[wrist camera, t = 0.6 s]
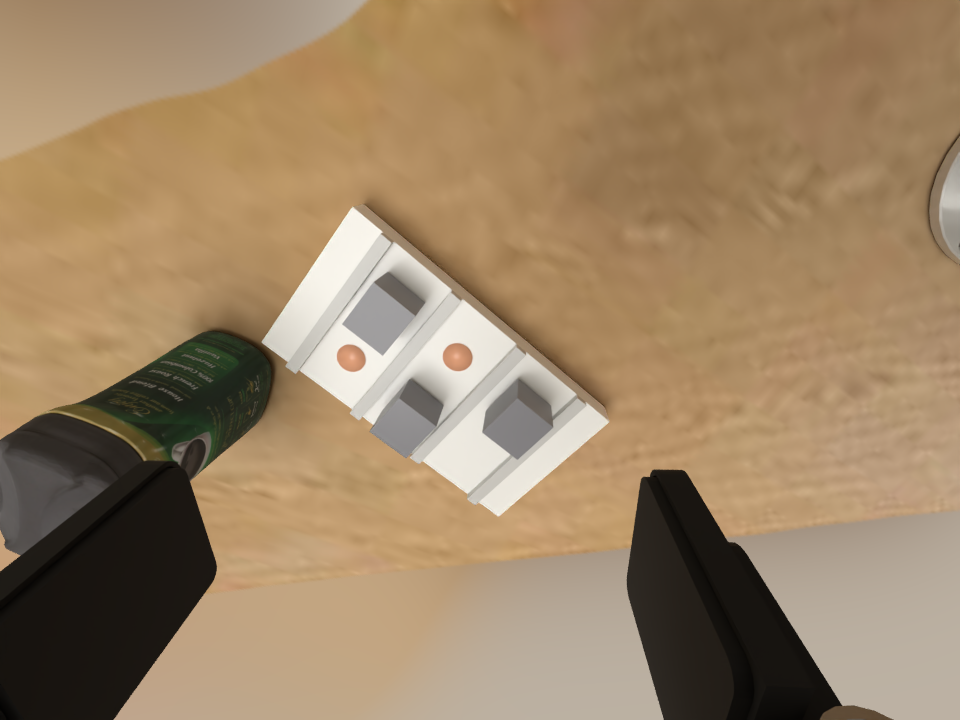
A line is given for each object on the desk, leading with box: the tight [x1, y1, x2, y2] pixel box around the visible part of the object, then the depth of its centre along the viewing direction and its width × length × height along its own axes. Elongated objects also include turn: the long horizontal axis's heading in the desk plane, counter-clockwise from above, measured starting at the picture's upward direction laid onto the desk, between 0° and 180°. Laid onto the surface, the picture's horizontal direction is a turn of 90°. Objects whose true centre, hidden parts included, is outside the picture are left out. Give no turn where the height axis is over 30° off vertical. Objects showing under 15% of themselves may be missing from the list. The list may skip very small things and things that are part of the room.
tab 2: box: [370, 379, 444, 458], centre depth 36 cm, size 4×4×3 cm
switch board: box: [261, 204, 609, 517], centre depth 38 cm, size 14×26×3 cm, turn 50°
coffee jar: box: [0, 331, 271, 555], centre depth 33 cm, size 10×8×19 cm
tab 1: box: [342, 272, 425, 356], centre depth 33 cm, size 4×4×3 cm
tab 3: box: [482, 379, 554, 460], centre depth 35 cm, size 4×4×3 cm
